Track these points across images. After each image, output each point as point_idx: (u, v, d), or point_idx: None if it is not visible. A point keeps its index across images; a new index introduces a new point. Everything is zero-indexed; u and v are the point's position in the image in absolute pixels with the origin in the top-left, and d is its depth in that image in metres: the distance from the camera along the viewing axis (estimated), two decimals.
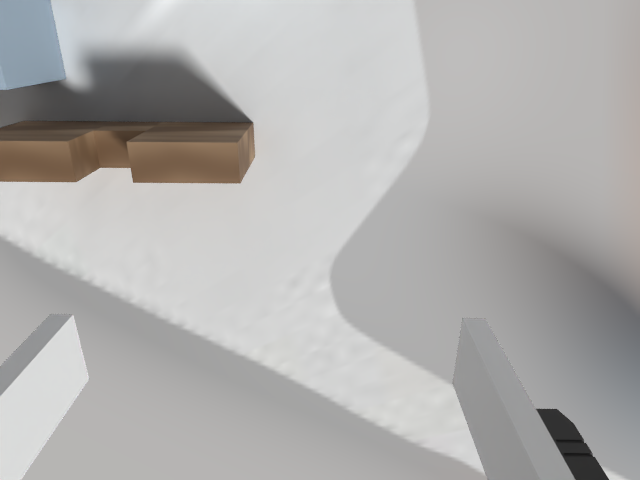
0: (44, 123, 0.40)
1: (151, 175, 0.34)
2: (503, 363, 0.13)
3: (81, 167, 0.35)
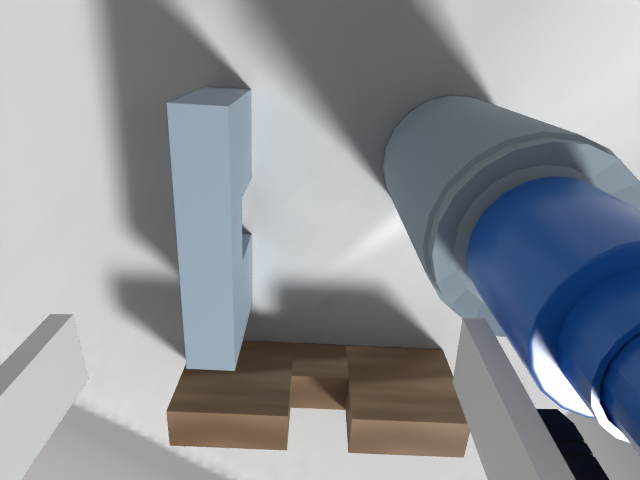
0: None
1: (370, 447, 0.32)
2: (503, 363, 0.13)
3: None
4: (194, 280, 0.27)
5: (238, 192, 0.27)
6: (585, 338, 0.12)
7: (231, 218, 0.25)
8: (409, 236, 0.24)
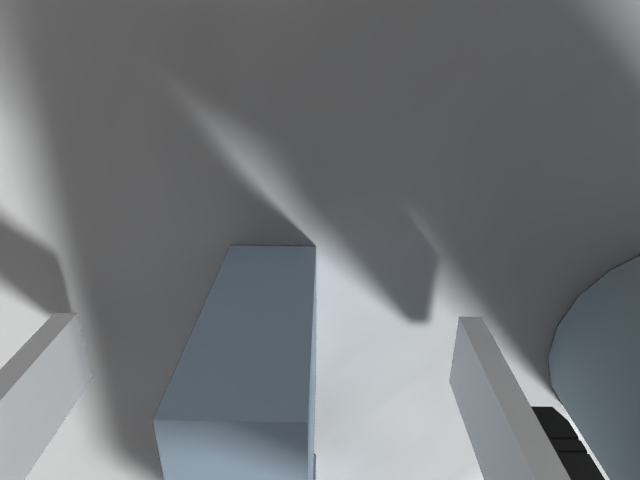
0: None
1: None
2: (499, 361, 0.13)
3: None
4: None
5: None
6: None
7: None
8: None
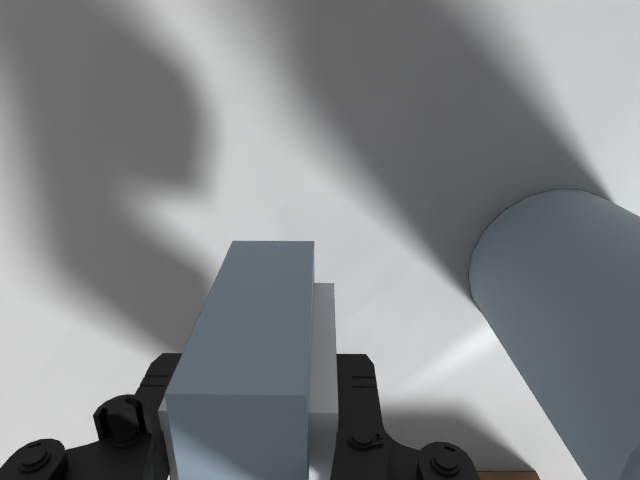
0: None
1: None
2: (328, 317, 0.15)
3: None
4: None
5: None
6: None
7: None
8: (549, 417, 0.18)
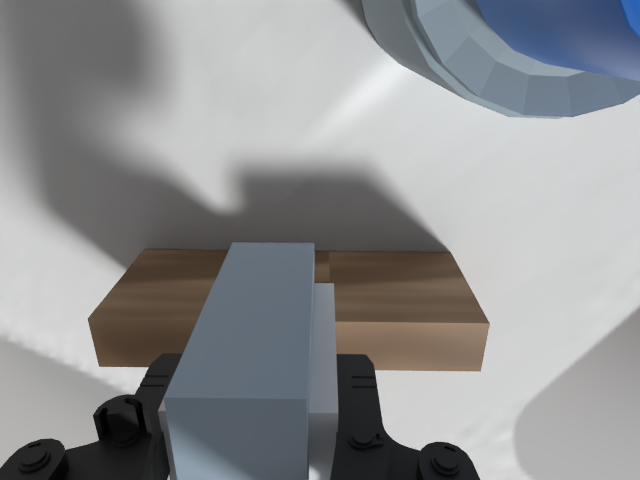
0: (176, 257, 0.30)
1: None
2: (328, 317, 0.15)
3: None
4: None
5: None
6: None
7: None
8: (386, 19, 0.16)
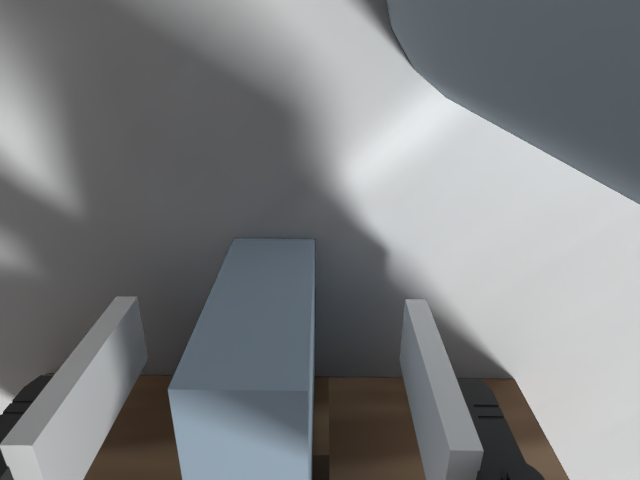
0: None
1: None
2: (434, 338, 0.14)
3: None
4: None
5: None
6: None
7: None
8: (490, 21, 0.06)
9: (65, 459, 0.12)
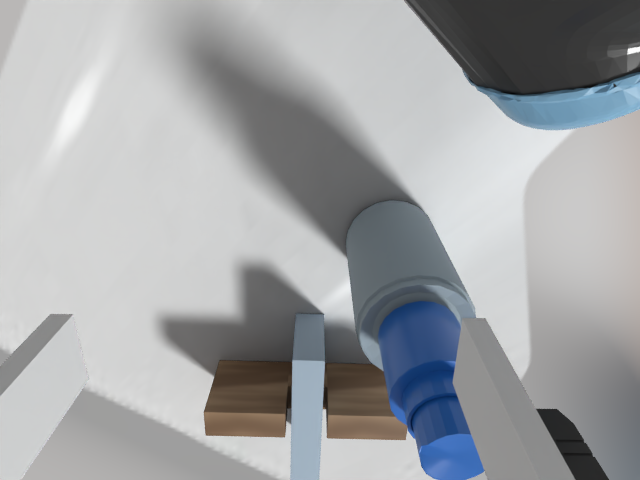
0: (240, 367, 0.52)
1: (341, 434, 0.47)
2: (503, 363, 0.13)
3: None
4: (299, 439, 0.47)
5: None
6: (407, 402, 0.27)
7: None
8: None
9: None
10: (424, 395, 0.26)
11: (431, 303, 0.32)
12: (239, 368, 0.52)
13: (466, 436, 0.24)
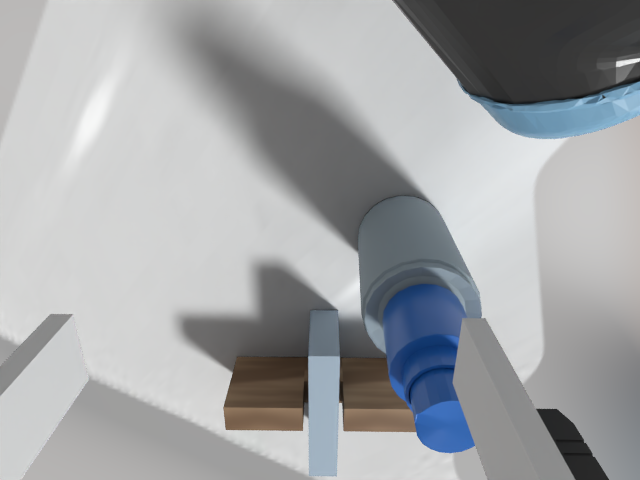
0: (257, 363, 0.53)
1: (357, 427, 0.48)
2: (503, 363, 0.13)
3: None
4: (316, 433, 0.48)
5: None
6: (405, 376, 0.28)
7: (338, 403, 0.47)
8: None
9: None
10: (421, 367, 0.27)
11: (433, 285, 0.33)
12: (256, 364, 0.53)
13: None
